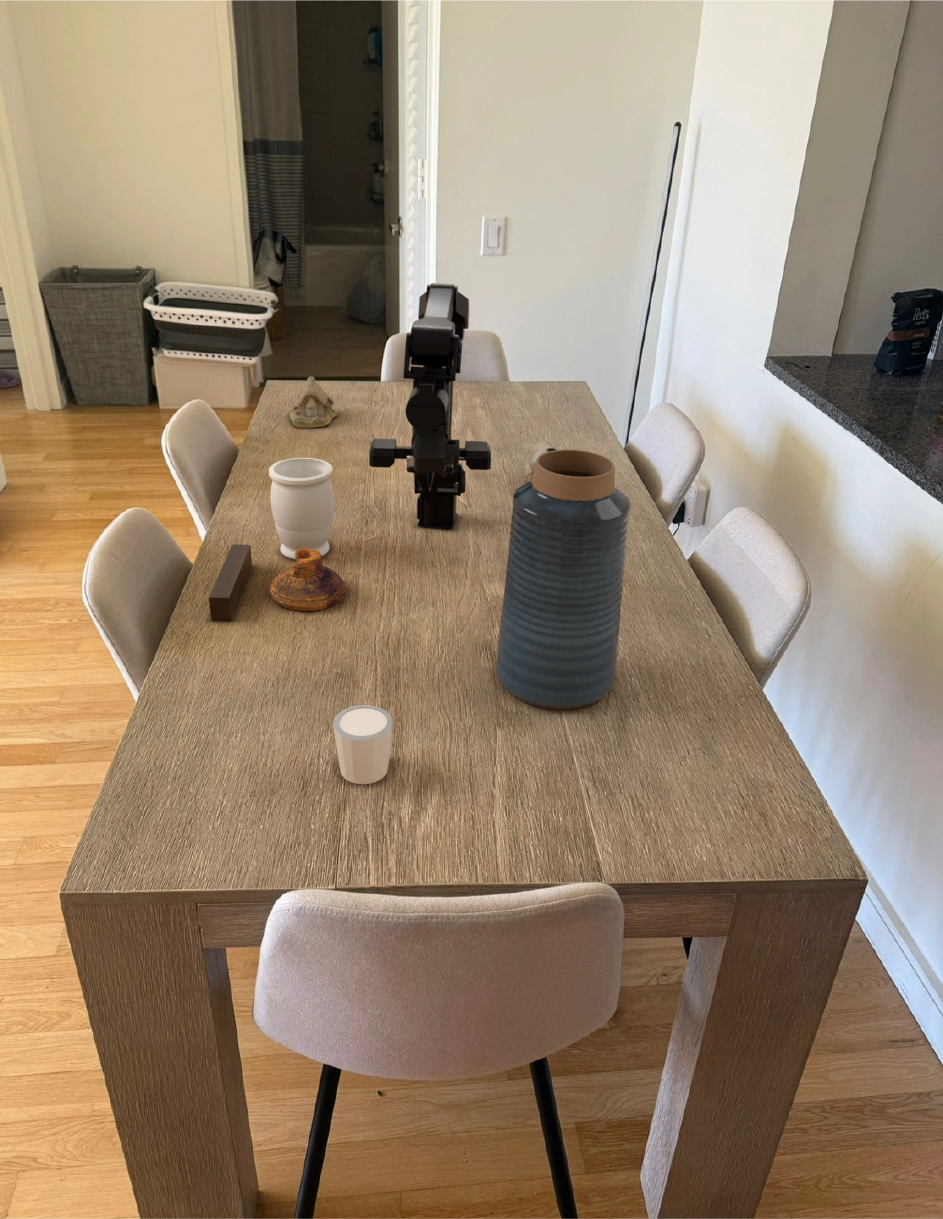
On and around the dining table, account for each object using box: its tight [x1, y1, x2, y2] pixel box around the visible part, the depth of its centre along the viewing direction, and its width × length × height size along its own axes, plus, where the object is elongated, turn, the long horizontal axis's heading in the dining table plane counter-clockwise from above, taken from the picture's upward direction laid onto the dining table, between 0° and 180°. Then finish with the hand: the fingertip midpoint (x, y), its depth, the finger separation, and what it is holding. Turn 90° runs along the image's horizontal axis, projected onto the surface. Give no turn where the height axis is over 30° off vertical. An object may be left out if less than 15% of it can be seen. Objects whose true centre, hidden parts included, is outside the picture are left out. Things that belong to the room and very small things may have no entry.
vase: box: [495, 449, 631, 710], centre depth 123 cm, size 16×16×32 cm
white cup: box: [332, 704, 394, 785], centre depth 111 cm, size 7×7×7 cm
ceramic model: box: [289, 375, 338, 428], centre depth 221 cm, size 14×11×10 cm
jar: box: [268, 457, 335, 561], centre depth 159 cm, size 11×10×15 cm
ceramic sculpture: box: [524, 441, 559, 483], centre depth 189 cm, size 11×9×15 cm
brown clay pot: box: [269, 548, 347, 612], centre depth 147 cm, size 12×12×7 cm
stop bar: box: [208, 544, 253, 622], centre depth 148 cm, size 3×18×4 cm, turn 2°
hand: (429, 504), depth 152 cm, fingers closed
